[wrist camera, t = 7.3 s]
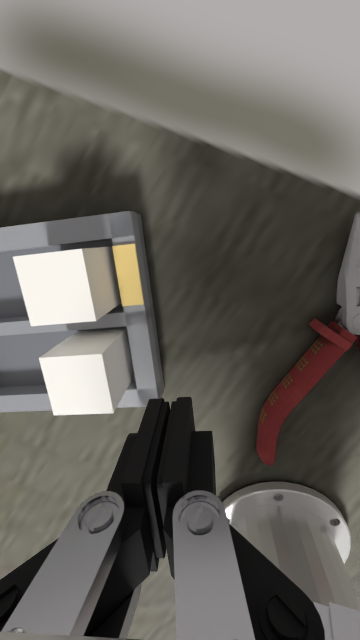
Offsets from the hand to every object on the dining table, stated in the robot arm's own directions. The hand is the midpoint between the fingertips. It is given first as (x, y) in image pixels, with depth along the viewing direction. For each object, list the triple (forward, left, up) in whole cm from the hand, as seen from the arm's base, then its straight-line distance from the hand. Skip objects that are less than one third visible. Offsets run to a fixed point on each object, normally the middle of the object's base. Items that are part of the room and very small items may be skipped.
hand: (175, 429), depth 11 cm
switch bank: (+2, +11, -12) cm, 16 cm away
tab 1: (+5, +7, -10) cm, 13 cm away
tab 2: (-1, +7, -10) cm, 12 cm away
